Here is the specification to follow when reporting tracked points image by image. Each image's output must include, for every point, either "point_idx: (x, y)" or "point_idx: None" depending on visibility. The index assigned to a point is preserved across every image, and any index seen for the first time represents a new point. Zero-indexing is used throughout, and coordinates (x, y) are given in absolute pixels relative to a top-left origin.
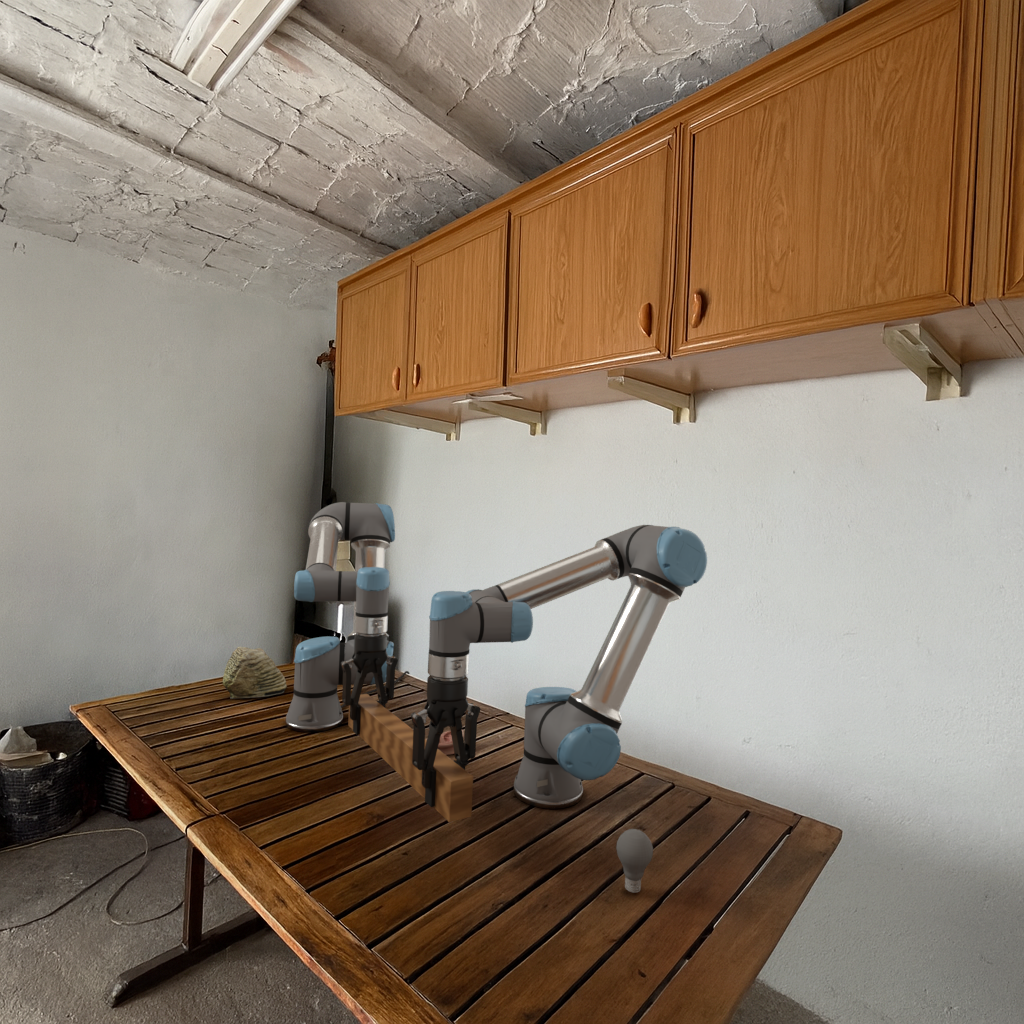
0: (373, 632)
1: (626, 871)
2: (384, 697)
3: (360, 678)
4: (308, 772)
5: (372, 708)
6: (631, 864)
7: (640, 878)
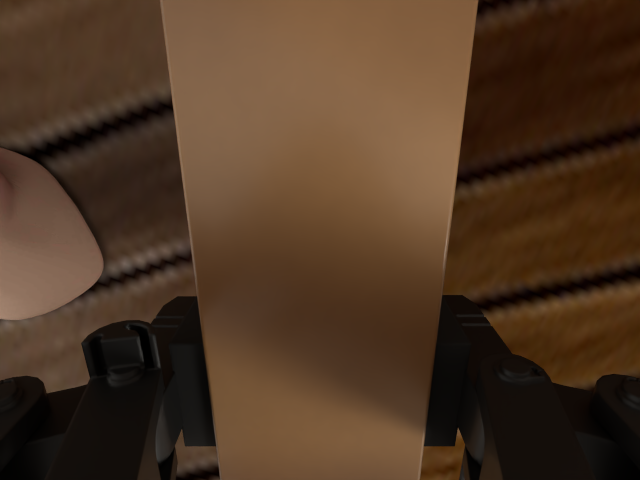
0: None
1: None
2: (105, 401)
3: None
4: (541, 242)
5: (352, 204)
6: None
7: None
